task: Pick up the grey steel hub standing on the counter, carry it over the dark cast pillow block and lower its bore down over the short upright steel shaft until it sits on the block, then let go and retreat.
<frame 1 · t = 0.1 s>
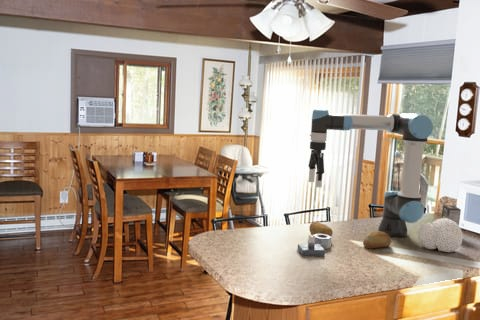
hand: (314, 184, 232), 28 cm above the counter, fingers open, 13 cm apart
bread roll: (377, 247, 230), on the counter
pillow block: (310, 253, 215), on the counter
potato: (320, 239, 237), on the counter
coffee box: (448, 236, 256), on the counter
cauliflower: (438, 250, 230), on the counter
hub: (321, 246, 226), on the counter
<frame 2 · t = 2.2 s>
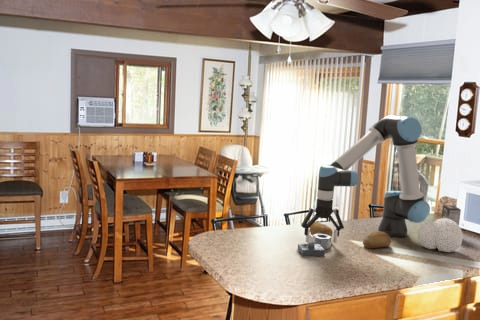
hand: (321, 242, 226), 2 cm above the counter, fingers open, 13 cm apart
nothing on the counter moved.
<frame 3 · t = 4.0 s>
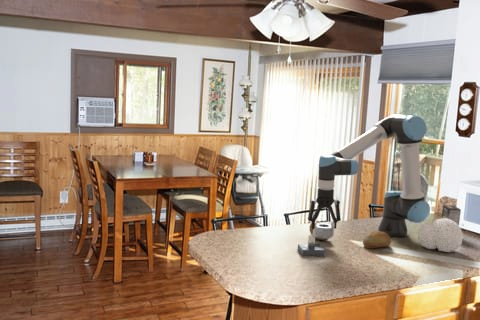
hand: (323, 235, 226), 5 cm above the counter, fingers closed on hub, 8 cm apart
hub: (323, 235, 226), point 5 cm above the counter, touching gripper
everything else where it was.
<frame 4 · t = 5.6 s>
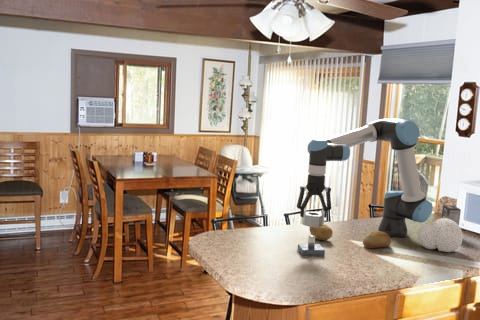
hand: (312, 224, 213), 14 cm above the counter, fingers closed on hub, 8 cm apart
hub: (312, 224, 213), point 13 cm above the counter, touching gripper
everything else where it was.
when the fingers open (4 cm above the counter, at t = 7.6 s): hub stays where it is, resting on pillow block.
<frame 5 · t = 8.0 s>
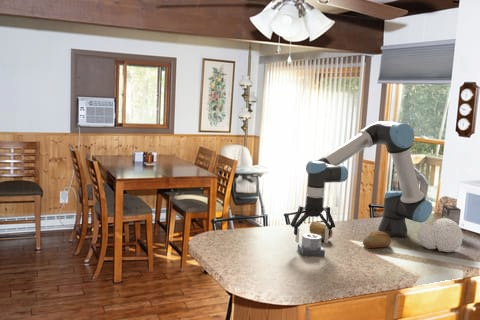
hand: (311, 242, 214), 5 cm above the counter, fingers open, 13 cm apart
hub: (311, 246, 215), point 3 cm above the counter, touching pillow block
everything else where it was.
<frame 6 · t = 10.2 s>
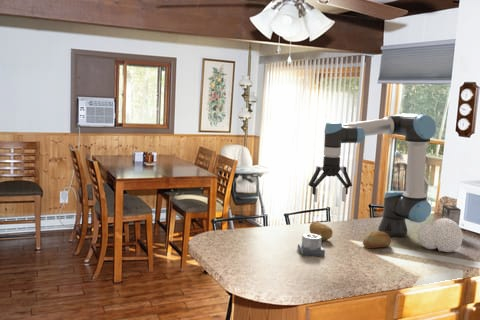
hand: (329, 201, 221), 22 cm above the counter, fingers open, 13 cm apart
nothing on the counter moved.
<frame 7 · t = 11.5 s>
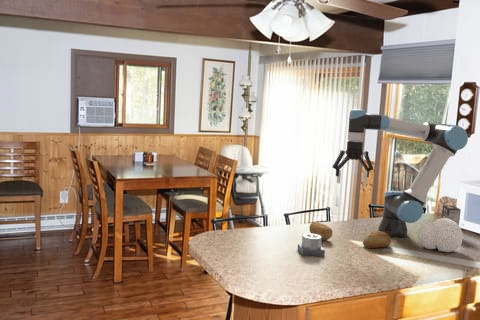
hand: (351, 183, 236), 29 cm above the counter, fingers open, 13 cm apart
nothing on the counter moved.
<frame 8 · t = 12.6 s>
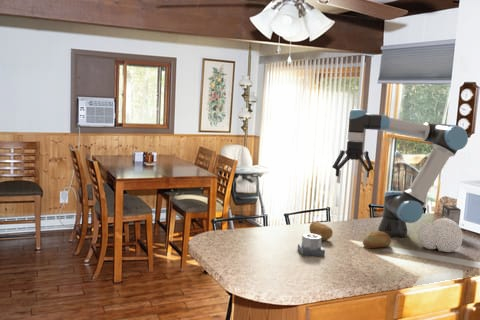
hand: (351, 183, 236), 29 cm above the counter, fingers open, 13 cm apart
nothing on the counter moved.
at the end: hub 0.1 cm off-centre on the pillow block, point 3.0 cm above the pillow block's base; hub tilted 0°; the gripper is holding nothing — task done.
